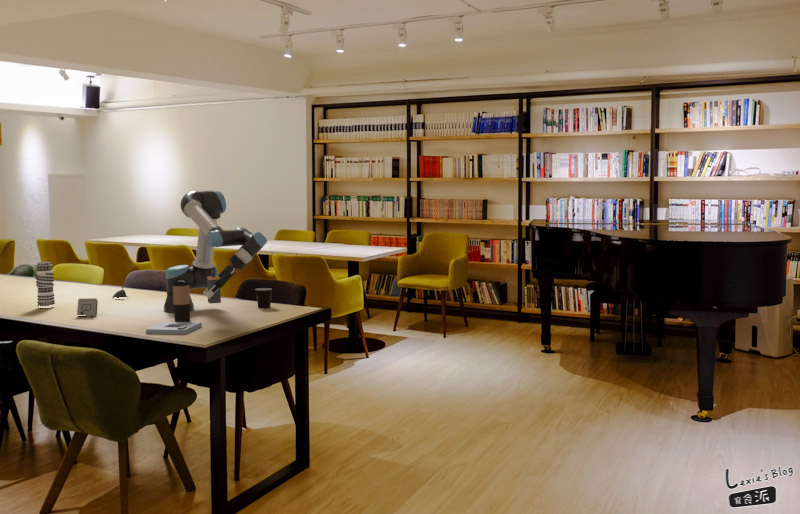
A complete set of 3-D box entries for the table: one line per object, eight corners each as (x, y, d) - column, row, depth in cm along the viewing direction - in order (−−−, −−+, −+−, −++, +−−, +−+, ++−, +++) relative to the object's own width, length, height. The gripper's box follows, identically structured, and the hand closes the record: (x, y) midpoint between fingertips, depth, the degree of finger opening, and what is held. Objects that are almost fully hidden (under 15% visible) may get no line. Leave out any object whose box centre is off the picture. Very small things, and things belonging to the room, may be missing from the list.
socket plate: (146, 333, 313) (145, 327, 313) (165, 325, 331) (164, 320, 331) (184, 334, 311) (184, 328, 310) (201, 326, 328) (201, 321, 328)
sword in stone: (108, 298, 417) (108, 278, 416) (120, 297, 423) (120, 277, 422) (119, 300, 411) (119, 279, 410) (131, 298, 418) (130, 278, 417)
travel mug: (176, 320, 346) (174, 279, 344) (192, 319, 346) (190, 279, 344) (172, 322, 338) (170, 281, 336) (188, 322, 339) (187, 281, 337)
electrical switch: (76, 317, 356) (76, 298, 356) (81, 316, 361) (81, 298, 361) (95, 317, 356) (95, 298, 356) (99, 316, 361) (99, 298, 361)
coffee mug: (268, 309, 374) (268, 290, 373) (253, 308, 376) (252, 290, 375) (276, 305, 386) (276, 287, 385) (262, 305, 387) (261, 287, 386)
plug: (208, 301, 332) (207, 270, 330) (218, 301, 334) (217, 269, 332) (209, 303, 327) (208, 271, 326) (220, 302, 329) (219, 270, 328)
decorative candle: (55, 305, 392) (53, 261, 390) (55, 308, 384) (53, 262, 381) (37, 307, 388) (34, 261, 386) (36, 309, 380) (34, 263, 377)
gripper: (250, 266, 327) (215, 304, 322) (242, 262, 343) (208, 298, 338) (238, 255, 324) (203, 293, 319) (230, 252, 341) (196, 288, 335)
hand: (206, 295), depth 329 cm, fingers closed on plug, 5 cm apart
